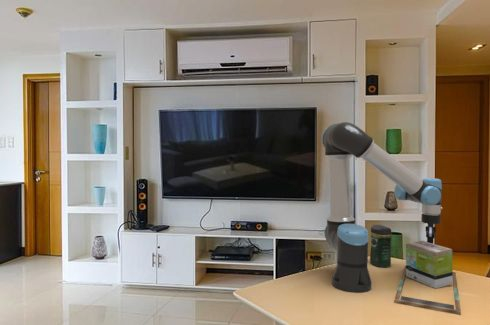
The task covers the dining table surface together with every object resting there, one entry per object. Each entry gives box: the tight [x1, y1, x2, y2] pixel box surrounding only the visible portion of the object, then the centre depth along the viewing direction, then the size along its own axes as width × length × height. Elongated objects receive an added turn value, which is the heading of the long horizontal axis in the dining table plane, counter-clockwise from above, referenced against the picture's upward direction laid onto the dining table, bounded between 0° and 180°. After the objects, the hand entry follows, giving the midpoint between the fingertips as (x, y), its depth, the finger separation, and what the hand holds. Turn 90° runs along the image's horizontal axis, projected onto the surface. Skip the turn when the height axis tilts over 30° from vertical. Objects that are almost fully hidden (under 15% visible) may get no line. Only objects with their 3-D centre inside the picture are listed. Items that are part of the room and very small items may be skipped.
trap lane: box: [393, 264, 462, 316], centre depth 151 cm, size 20×47×1 cm, turn 153°
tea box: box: [405, 240, 453, 289], centre depth 157 cm, size 15×10×15 cm
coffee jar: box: [369, 224, 393, 268], centre depth 180 cm, size 10×8×19 cm
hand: (429, 267), depth 167 cm, fingers closed
